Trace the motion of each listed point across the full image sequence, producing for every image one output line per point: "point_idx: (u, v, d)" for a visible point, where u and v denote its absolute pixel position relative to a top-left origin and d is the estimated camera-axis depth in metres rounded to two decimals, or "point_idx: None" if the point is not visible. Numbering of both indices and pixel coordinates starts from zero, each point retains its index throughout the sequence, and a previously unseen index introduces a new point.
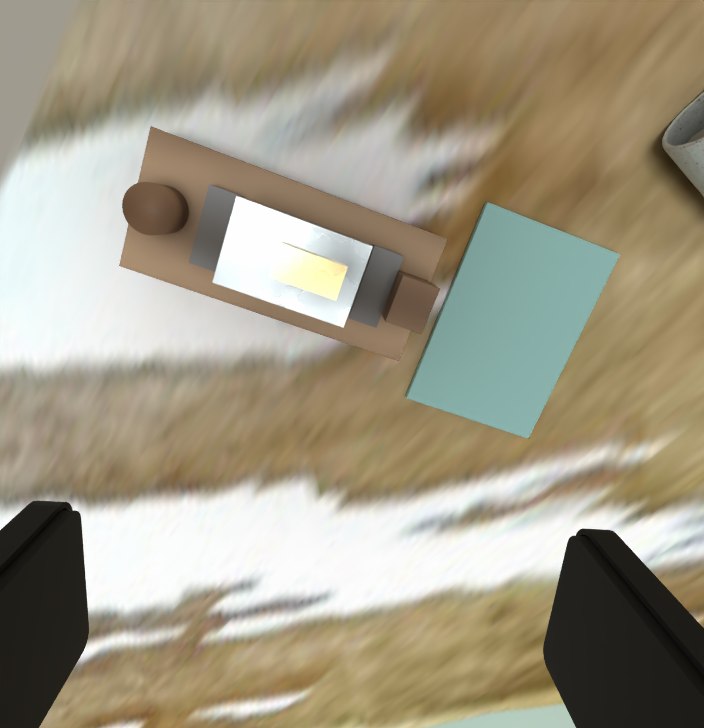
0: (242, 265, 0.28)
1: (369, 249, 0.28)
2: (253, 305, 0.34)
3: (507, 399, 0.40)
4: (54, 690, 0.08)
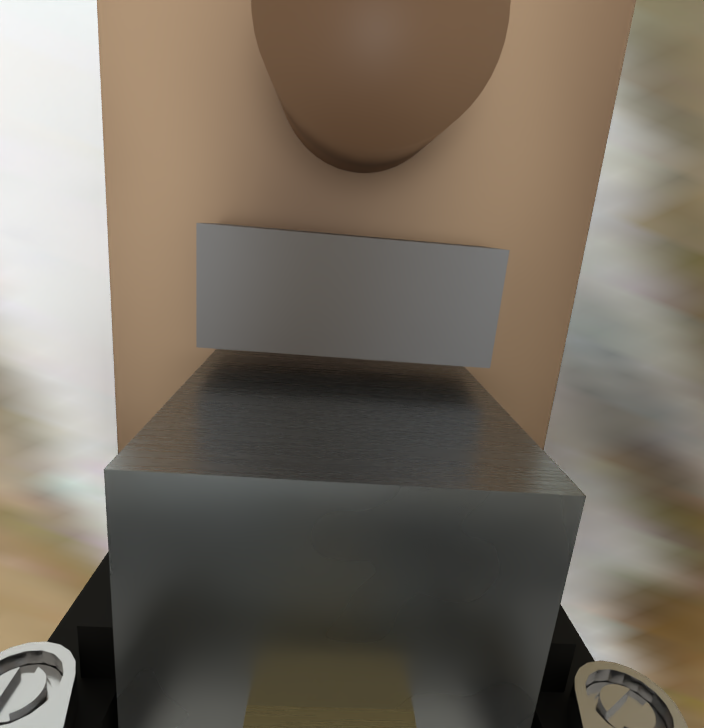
0: (252, 585, 0.05)
1: None
2: None
3: None
4: None
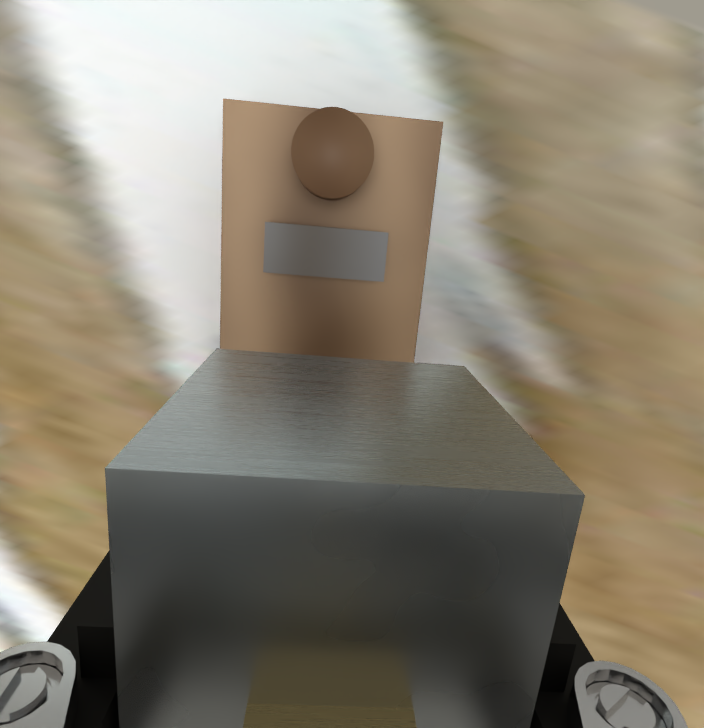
0: (252, 585, 0.05)
1: None
2: (229, 322, 0.22)
3: None
4: None
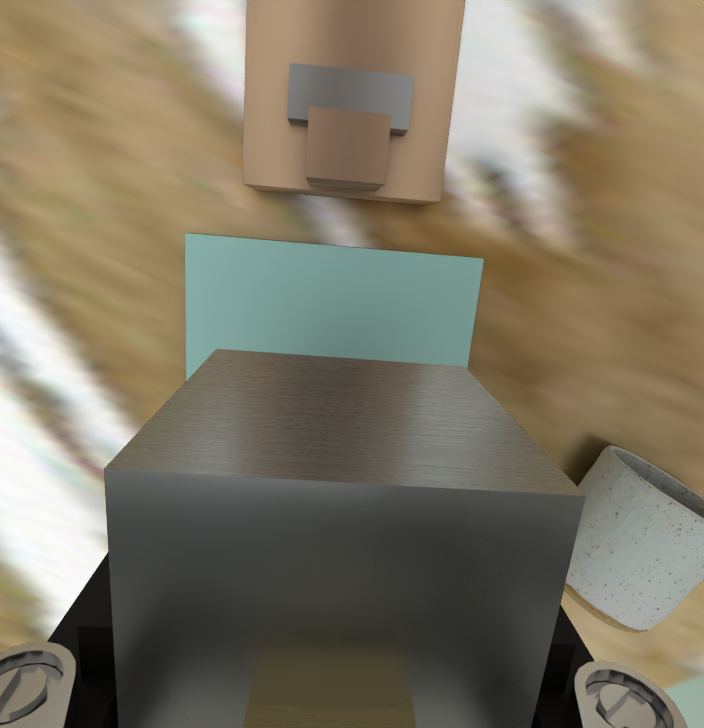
0: (252, 585, 0.05)
1: None
2: None
3: None
4: None
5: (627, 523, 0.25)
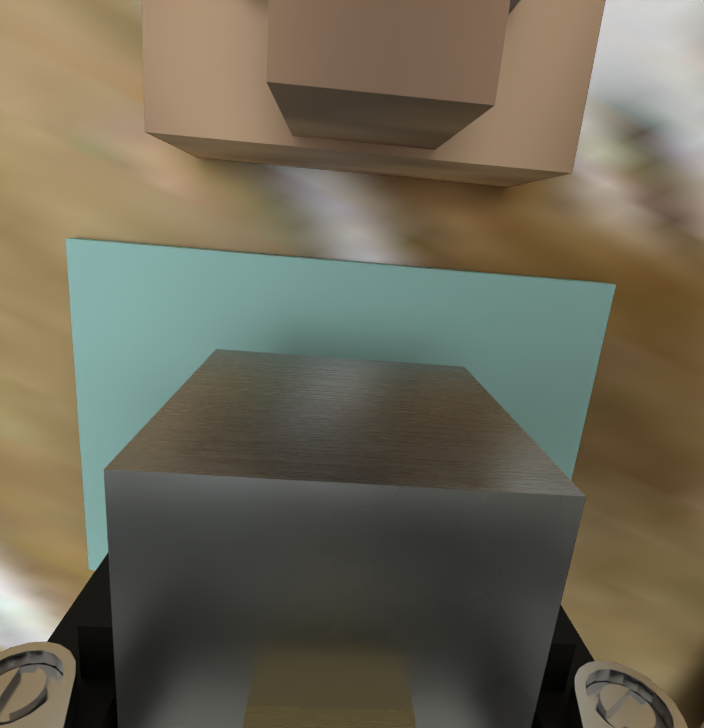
0: (252, 587, 0.05)
1: None
2: None
3: None
4: None
5: None
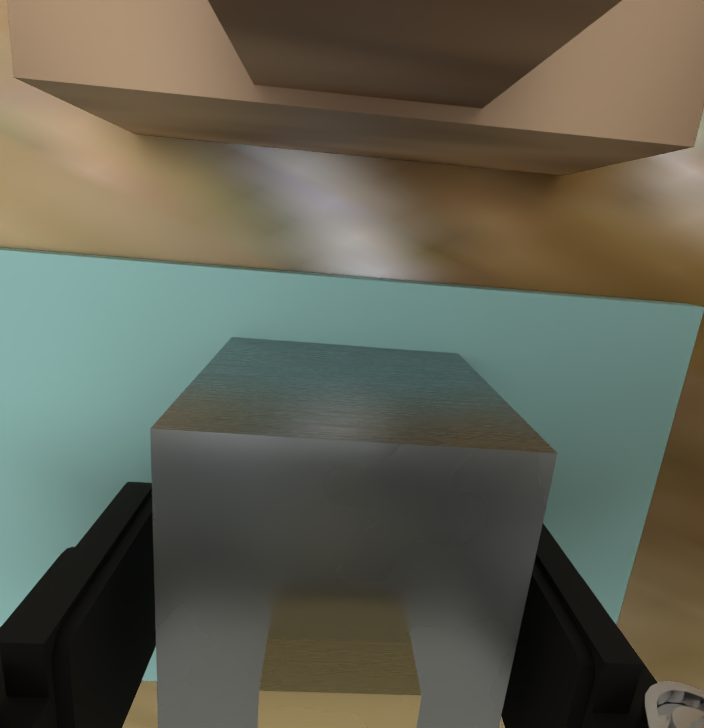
0: (273, 531, 0.06)
1: None
2: None
3: None
4: (149, 652, 0.09)
5: None
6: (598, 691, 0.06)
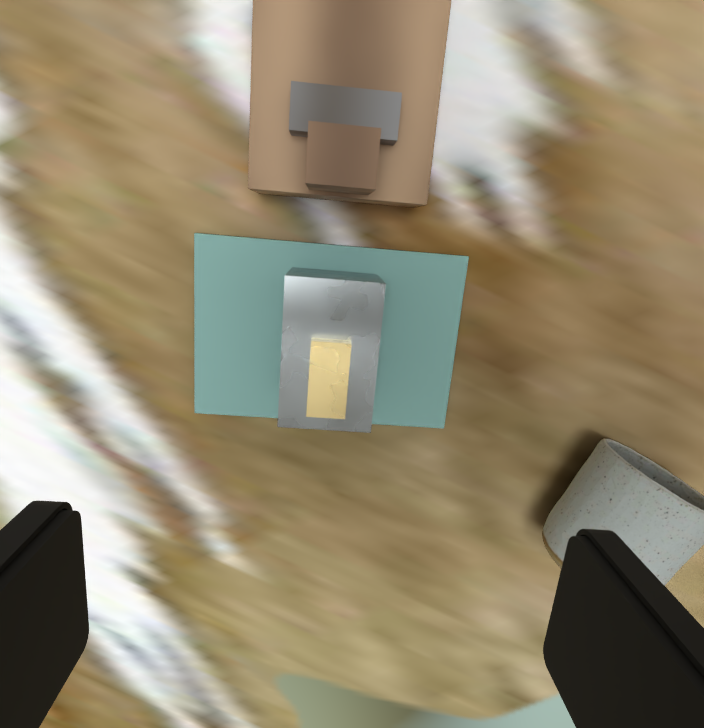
0: (314, 304, 0.24)
1: (366, 430, 0.26)
2: None
3: (236, 368, 0.30)
4: (54, 690, 0.08)
5: (620, 508, 0.28)
6: None
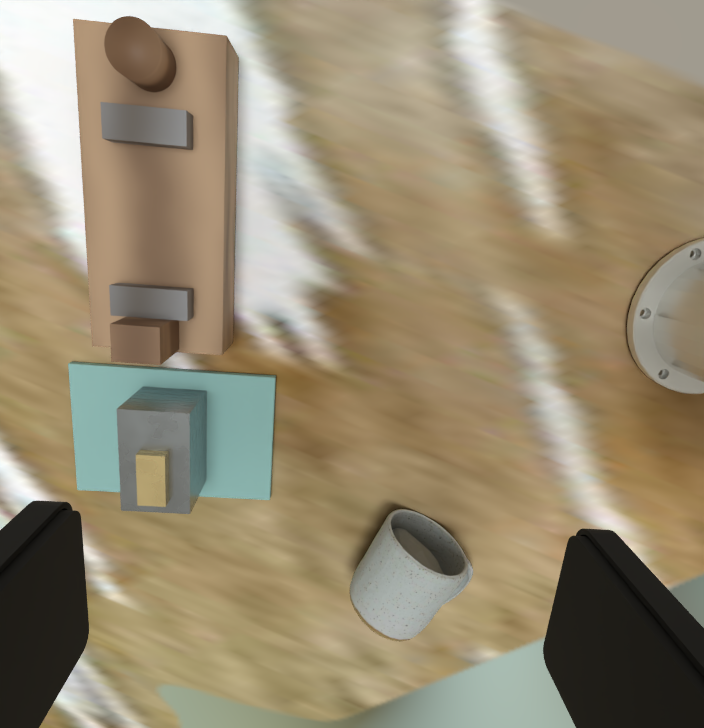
0: (139, 428, 0.35)
1: (186, 512, 0.37)
2: (89, 182, 0.32)
3: (107, 457, 0.40)
4: (54, 690, 0.08)
5: (385, 568, 0.38)
6: None
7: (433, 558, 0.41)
